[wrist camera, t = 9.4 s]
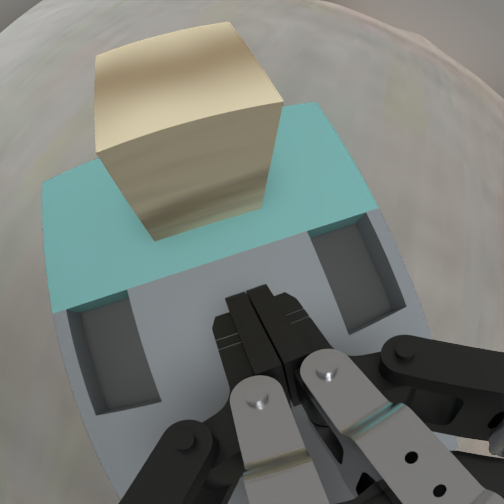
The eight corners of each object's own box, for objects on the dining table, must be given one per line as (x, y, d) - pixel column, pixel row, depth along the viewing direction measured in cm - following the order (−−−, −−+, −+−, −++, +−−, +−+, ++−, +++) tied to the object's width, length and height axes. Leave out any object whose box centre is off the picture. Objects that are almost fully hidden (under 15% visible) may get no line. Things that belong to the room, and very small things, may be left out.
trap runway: (441, 441, 14) (457, 447, 12) (168, 546, 11) (162, 562, 9) (310, 119, 21) (316, 101, 19) (55, 195, 18) (42, 182, 16)
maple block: (261, 208, 16) (283, 101, 9) (154, 241, 15) (96, 152, 8) (228, 128, 18) (228, 21, 10) (136, 155, 17) (96, 55, 9)
